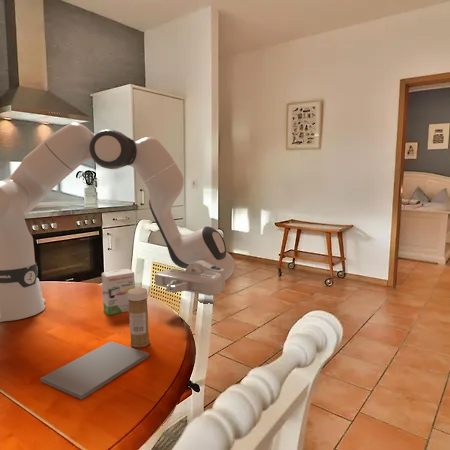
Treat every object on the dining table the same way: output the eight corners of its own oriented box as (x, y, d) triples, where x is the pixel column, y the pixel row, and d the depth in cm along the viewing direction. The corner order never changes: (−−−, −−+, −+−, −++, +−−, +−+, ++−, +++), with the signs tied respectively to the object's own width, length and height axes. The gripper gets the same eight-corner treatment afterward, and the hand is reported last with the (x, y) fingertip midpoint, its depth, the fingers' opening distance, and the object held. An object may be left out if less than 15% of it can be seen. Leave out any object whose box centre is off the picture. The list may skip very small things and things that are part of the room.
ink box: (107, 316, 105) (105, 276, 104) (103, 310, 109) (101, 272, 108) (136, 309, 110) (134, 271, 108) (131, 304, 114) (129, 268, 112)
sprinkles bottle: (152, 340, 89) (150, 287, 88) (145, 349, 85) (142, 293, 83) (135, 339, 90) (132, 286, 88) (126, 347, 86) (123, 292, 84)
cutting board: (110, 344, 88) (110, 341, 88) (149, 356, 82) (148, 353, 82) (40, 381, 72) (40, 377, 72) (81, 399, 66) (81, 395, 66)
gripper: (171, 261, 113) (140, 272, 101) (229, 270, 103) (202, 283, 91) (172, 281, 114) (141, 294, 102) (229, 291, 104) (202, 307, 92)
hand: (170, 289), depth 96 cm, fingers closed
